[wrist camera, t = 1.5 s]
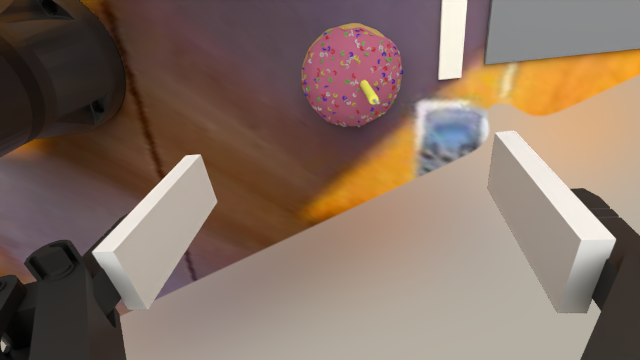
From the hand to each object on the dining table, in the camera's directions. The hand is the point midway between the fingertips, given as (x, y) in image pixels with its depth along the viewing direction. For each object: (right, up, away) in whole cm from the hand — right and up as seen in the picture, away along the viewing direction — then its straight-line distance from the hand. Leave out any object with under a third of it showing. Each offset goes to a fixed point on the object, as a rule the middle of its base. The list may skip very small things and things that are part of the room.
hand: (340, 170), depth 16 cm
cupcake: (+2, +11, +18) cm, 21 cm away
